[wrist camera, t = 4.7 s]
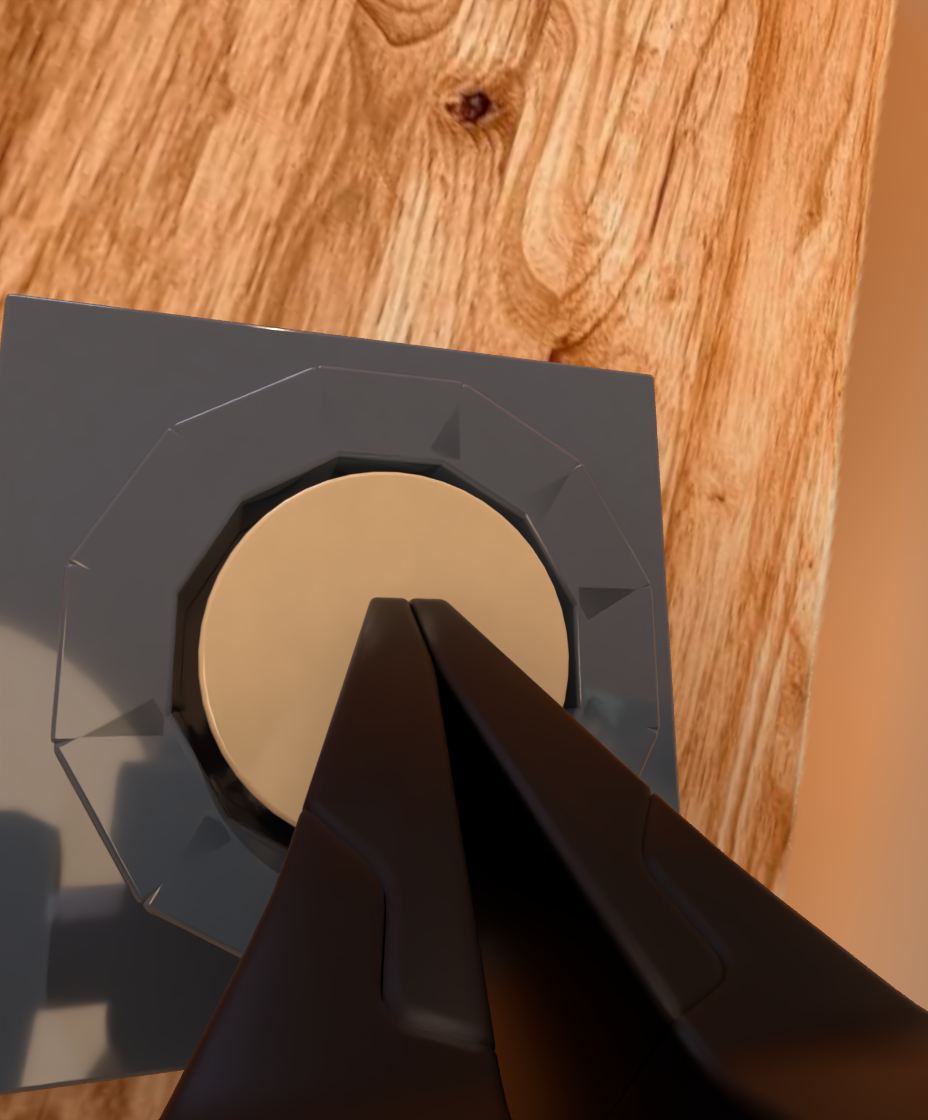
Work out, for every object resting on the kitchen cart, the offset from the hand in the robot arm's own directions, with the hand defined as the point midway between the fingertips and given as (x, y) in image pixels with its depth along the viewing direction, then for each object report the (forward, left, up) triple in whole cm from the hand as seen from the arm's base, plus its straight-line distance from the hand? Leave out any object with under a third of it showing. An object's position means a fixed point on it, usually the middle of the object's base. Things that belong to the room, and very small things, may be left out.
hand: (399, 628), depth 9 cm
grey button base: (0, 0, -8) cm, 8 cm away
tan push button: (0, 0, -2) cm, 2 cm away
